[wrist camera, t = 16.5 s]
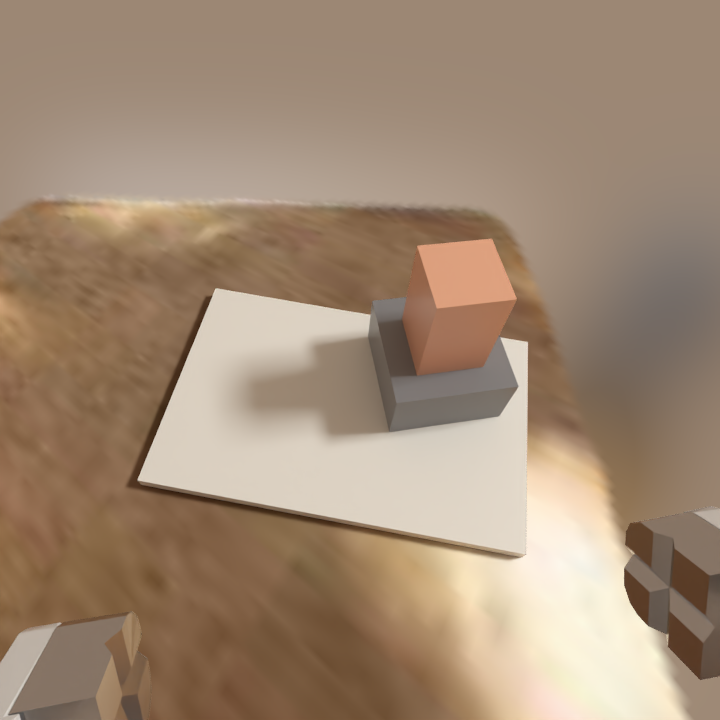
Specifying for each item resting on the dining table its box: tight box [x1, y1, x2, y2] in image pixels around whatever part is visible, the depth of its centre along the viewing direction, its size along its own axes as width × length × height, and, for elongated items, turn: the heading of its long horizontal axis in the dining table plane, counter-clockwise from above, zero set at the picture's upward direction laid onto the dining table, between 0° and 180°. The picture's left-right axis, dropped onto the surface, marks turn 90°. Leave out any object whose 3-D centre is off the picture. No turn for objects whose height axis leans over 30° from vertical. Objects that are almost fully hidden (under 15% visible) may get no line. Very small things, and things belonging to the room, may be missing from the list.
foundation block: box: [368, 297, 519, 432], centre depth 42 cm, size 9×9×5 cm
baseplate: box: [137, 288, 528, 557], centre depth 42 cm, size 28×18×1 cm, turn 80°
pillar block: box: [402, 239, 517, 376], centre depth 36 cm, size 5×5×8 cm
